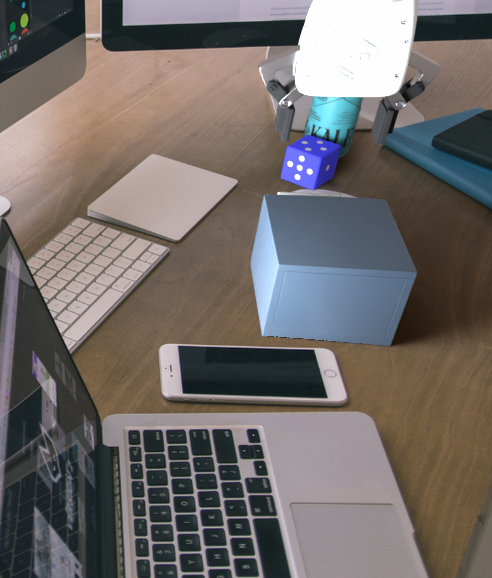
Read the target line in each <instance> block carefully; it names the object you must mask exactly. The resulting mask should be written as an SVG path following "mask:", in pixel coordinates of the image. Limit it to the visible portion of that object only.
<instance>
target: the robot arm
mask: <svg viewBox="0 0 492 578" xmlns="http://www.w3.org/2000/svg"><path fill="white" fill-rule="evenodd" d="M419 2H420V0H312V2H311V4H310V7H309V9H308V12H307V15H306V17H305V21H304V25H303V27H302V29H301V34H300V37H299V40H298V44H297V45H295V46H293V47H291V48H289V49H287V50H284V51H282V52H280V53H278V54H275V55H273V56H270V57H268V58H265V59H263V60H261V61H259V63H258V65H257V66H258V71H259V73H260V76H261V78H262V81H263V84H264V86H265V89H266V91H267V92H268V93H269V94H270V96H271V97H272V98H273V99H274V100H275V101H276V102H277V103H278V104H277V108H276V114H275V119H274V123H273V124H274V125H273V128H274V132H278V135H279V139H280V142H281V143H287V142H288V141H290V137H291V132H292V129H293V125H294V124H293V123H294V120H295V114H296V108H295V103H296V102H297V101H298V100H299V99H300V98H302V97H303V96H304V95H307V96H312V97H313V96H338V97H363V98H379V97H381V100H379V102H378V106H377V110H376V114H375V117H374V119H373V123H372V127H371V134H372V137H373V138H374V141H375V143H376V144H378V145H385V144H386V141H387V139H388V138H387V137H388V135H392V134H393V132H394V129H395V127H396V123H397V120H398V115H399V112H400V111H402V110H403V109H404V108H405V107H406V106H407V104H408V103H410V101H412V100H414V99H415V98H417V97H418V96H420V95H422V94H423V93H424V92H425V90H426V87H428V85H430V84H431V83H432V82H433V81H434V80H435V79H436V77H438V76H439V74H440V73H441V72H442V67H441V66H440V64H439V63H438V62H437V61H436V60H434V59H432V58H431V57H428V56H426V55H424V54H423V53H420V52H418V51H416V49H413V45H414V40H415V34H416V28H417V23H418V22H417V21H418V13H419ZM289 66H292V77H291V78H290V79H288V80H287V81H286V82H285V83H284V84H282V83H281V82H280V80H279V79H278V78H277V77H276V73H277V72H278V71H280V70H283V69H285V68H287V67H289ZM409 66H410V67H411V68H413V69H415V70H417V73H416V74H415V76H414V77H412V78H410V79H409V80H407V81H406V82H405V79H406V77H407V73H408V69H409Z"/></svg>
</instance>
